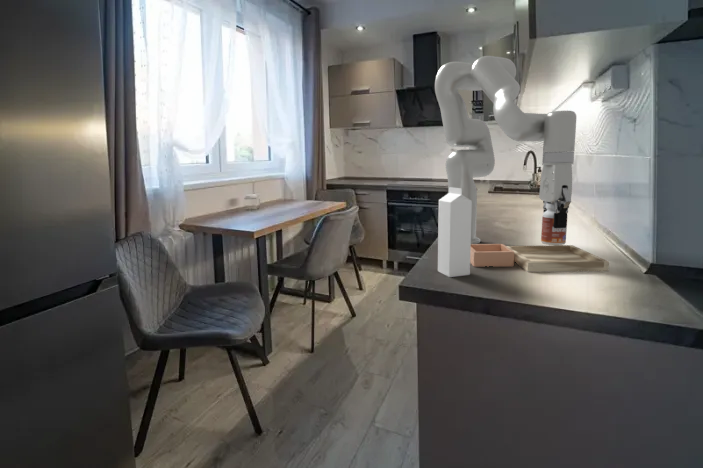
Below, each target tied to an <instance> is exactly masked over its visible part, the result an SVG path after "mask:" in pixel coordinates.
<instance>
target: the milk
mask: <svg viewBox="0 0 703 468" xmlns="http://www.w3.org/2000/svg"><path fill="white" fill-rule="evenodd" d="M437 212H438V216H437V218H438V219H437V220H438V221H437V223H438V227H437V231H438V232H437V233H438V235H437V272H439V273H440V274H442V275H444V276H446V277H448V278H452V277H453V278H454V277H462V276H470V275H471V263H470V250H471V213H472V201H471V200H469V199H468V198H466V197H465V196H463V195H462V189H461V188H453V187H449V193H448V192H447V193H446V194H445V195H444V196H442V197H441V198H439V199H438V211H437Z"/></svg>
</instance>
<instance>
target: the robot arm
mask: <svg viewBox="0 0 703 468" xmlns="http://www.w3.org/2000/svg"><path fill="white" fill-rule="evenodd" d="M516 75H517V67H516V64H515V63H514V62H513V61H512V59H510V58H506V57H502V56H493V55H484V56H481V57H480V56H479V58H477V59H476V60H474V62H473V63H472V62H464V61H450V62H447V63H445V64H443V65H442V66H441V67H440V68H439V69H438V70H437V73H436V75H435V80H434V93H435V96H436V101H437V102H438V106H439V108H440V109H439V110H440V113H441V114H440V115H441V121H442V125H443V132H444V137H445V141H446V143H447V145H449V146H450V147H455V148H468V149H456V150H454V151H452V152H451V153H450V154H448V155H447V158H446V160H445V170H446V171H445V172H446V175H447V176H446V177H447V185H448V187H447V190H448V191H447V194H448V193H449V187H453V188H461V189H462V195H463V196H465V197H466V198H468V199H469V200H471V201H472V213H471V244H481V238H480V237H477V213H478V212H477V211H478V209H477V208H478V206H477V205H478V190H477V186H476V183H475V180H474V178H483V177H487V176H489V175H491V174H492V172H493V171H494V170H495V169H494V168H495V165H496V163H495V153H494V148H493V143H492V136H491V132H490V128H489V126H488V125H487V124H486V122H485V121H483V120H482V119H478V118H470V117H469V114H468V111H467V105H466V101H465V99H464V98H463V96H462V95H461V93H460V92H459V90H462V91H464V90H465V91H474V92H475V91H483V92H484V94H485V95H486V97H487V98H488V99H489V100H490V101H491V102H492V104H493V107H492V111H493V117H494V120H495V122H496V124H497V125H498V126H499V127H500V129H501V130H502V132H504V134H505V135H506V136H507V137H508V138H510V139H511V140H513V141H516V142H542V143H543V144H542V145H543V147H542V162H541V164H542V169H541V170H542V171H541V176H540V183H539V184H540V185H539V197H538V198H539V200H541V201H543V202H542V203H543V206H542V209H543V212H542V214H543V213H544V212H545V211H547V209H546V203H555V211H556V213H554V222H553V227H554V228H566V226H567V227H568V213H569V208H570V204H571V203H572V194H573V166H572V165H574V164H575V163H574V162H575V149H576V148H575V147H576V133H577V132H576V130H577V114H576V112H575V111H573V110H557V111H550V112H548V113H533V112H532V113H531V112H530V113H529V112H524V111H523V110H522V109H521V108H520V107H519V106H518V105H517V104H516V102H515V100H516V99H517V97H518V95H519V93H520V91H521V86H520V84H519V82H518V81H517V80H516ZM559 204H561V205H560V207H559Z"/></svg>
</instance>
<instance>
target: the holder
mask: <svg viewBox="0 0 703 468" xmlns="http://www.w3.org/2000/svg"><path fill="white" fill-rule="evenodd" d="M507 246H508V245H505V244H504V243H478V244H471V250H470V265H471V266H473V267H474V268H475V267H476V268H477V267H478V268H480V267H481V268H482V267H483V268H484V267H485V266H487V268H488V267H489V266H493V267H514V265H515V262H514V251H512V250H511V249H509V248H508V247H507ZM489 268H490V267H489Z"/></svg>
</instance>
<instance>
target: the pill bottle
mask: <svg viewBox="0 0 703 468" xmlns="http://www.w3.org/2000/svg"><path fill="white" fill-rule="evenodd" d="M560 205H561V204H559V207H560ZM546 209H547V211H545V212H544V213H543V212H542V220H541V221H542V222H541V235H540V236H541V238H540V242H541V243H542V244H544V245H546V246H548V245H566V243H567V230H568V229H567V228H568V225H567V226H566V228H554V227H553V222H554V213H556V211H555V203H546Z"/></svg>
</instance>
